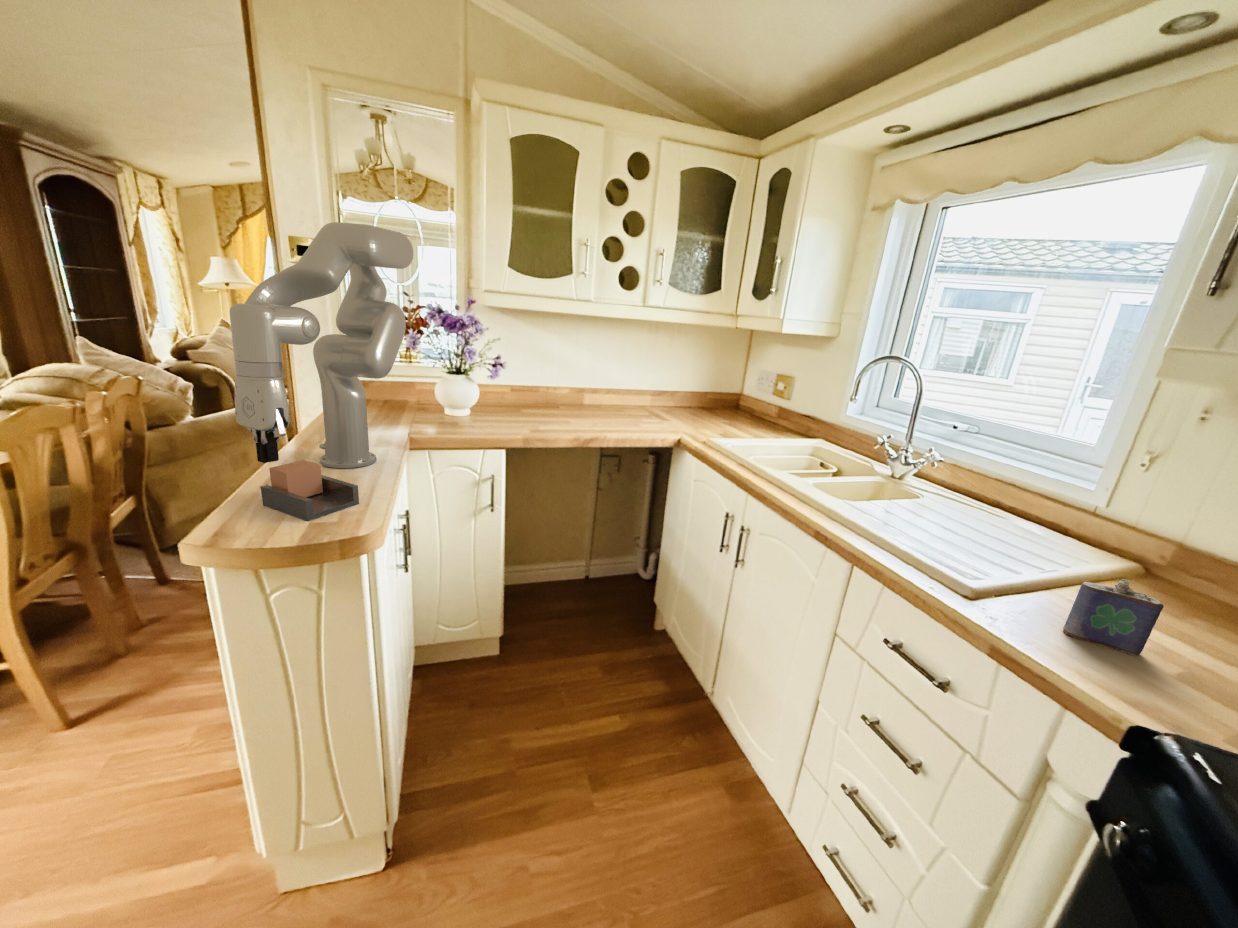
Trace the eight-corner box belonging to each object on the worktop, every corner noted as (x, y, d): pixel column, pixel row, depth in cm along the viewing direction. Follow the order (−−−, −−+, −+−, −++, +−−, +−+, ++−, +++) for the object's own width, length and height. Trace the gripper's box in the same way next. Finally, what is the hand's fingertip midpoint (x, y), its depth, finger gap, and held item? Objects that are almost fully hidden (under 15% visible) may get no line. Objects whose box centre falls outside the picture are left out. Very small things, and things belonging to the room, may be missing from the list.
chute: (262, 505, 97) (260, 486, 96) (316, 490, 107) (314, 472, 106) (307, 521, 92) (305, 501, 91) (359, 503, 102) (357, 485, 101)
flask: (1064, 635, 78) (1089, 574, 75) (1059, 626, 80) (1083, 567, 77) (1143, 659, 73) (1173, 596, 70) (1135, 648, 76) (1164, 587, 73)
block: (272, 496, 98) (269, 467, 97) (306, 487, 105) (304, 460, 103) (289, 502, 96) (286, 473, 95) (322, 492, 103) (320, 464, 101)
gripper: (214, 366, 96) (225, 458, 100) (264, 376, 90) (273, 472, 95) (255, 365, 102) (264, 451, 107) (304, 374, 97) (310, 464, 101)
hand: (268, 460), depth 101 cm, fingers closed
